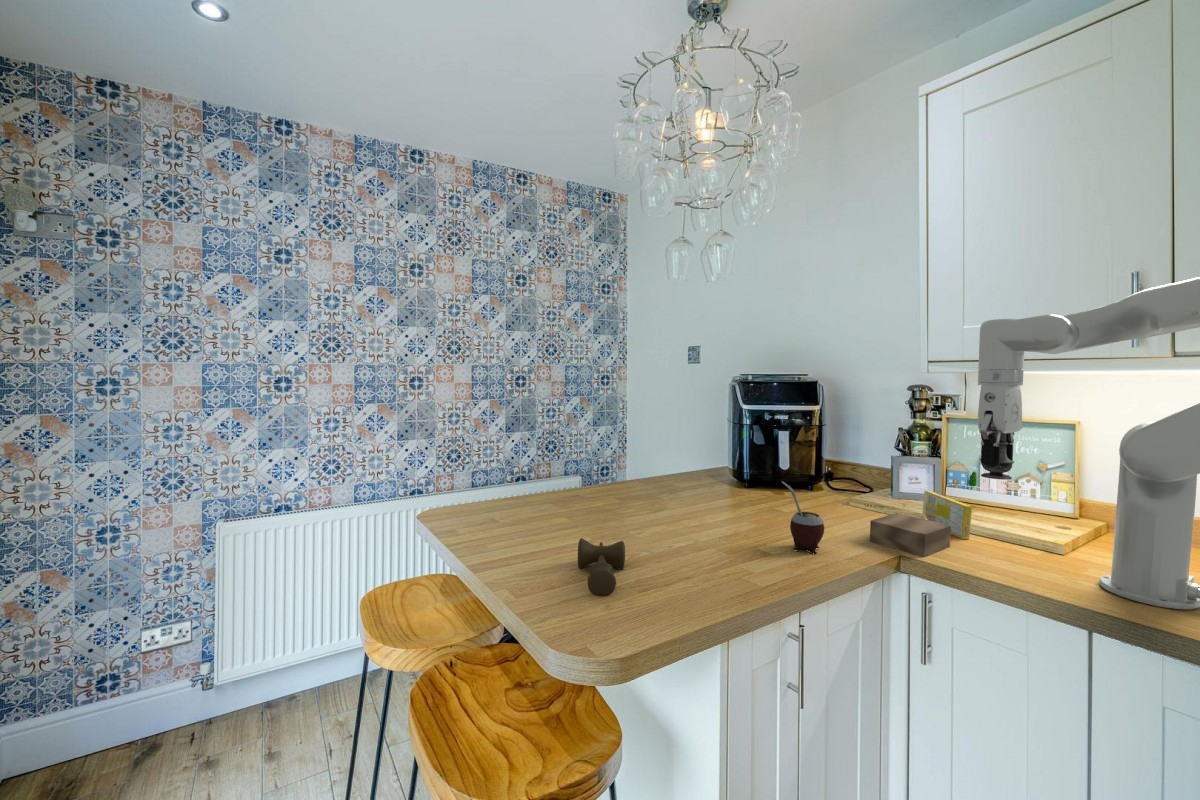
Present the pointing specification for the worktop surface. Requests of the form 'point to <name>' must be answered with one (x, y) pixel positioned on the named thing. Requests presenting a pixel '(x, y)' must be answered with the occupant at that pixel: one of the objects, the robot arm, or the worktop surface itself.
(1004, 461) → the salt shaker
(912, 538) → the walnut block
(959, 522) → the candy box
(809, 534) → the mate gourd
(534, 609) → the worktop surface
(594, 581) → the kendama
